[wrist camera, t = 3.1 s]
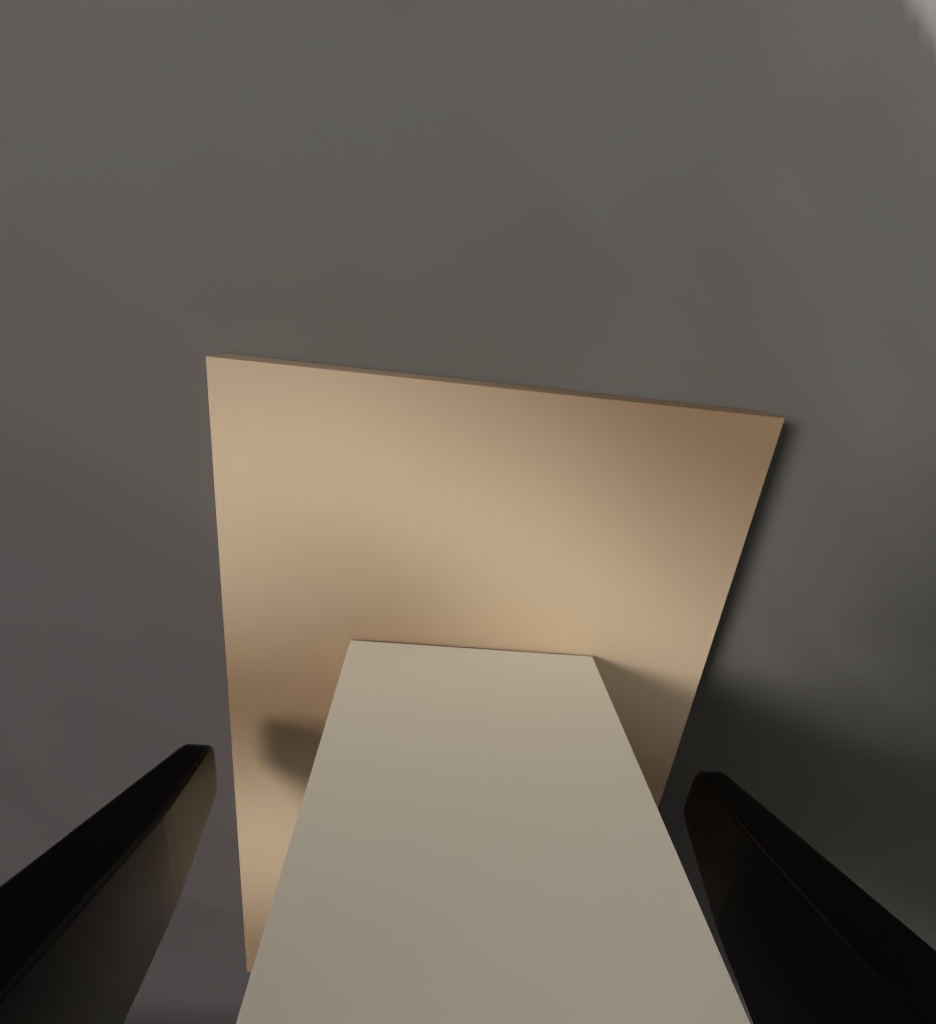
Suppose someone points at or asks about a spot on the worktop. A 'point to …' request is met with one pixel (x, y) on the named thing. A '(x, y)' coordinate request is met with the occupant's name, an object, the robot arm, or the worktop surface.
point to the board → (459, 551)
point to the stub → (481, 858)
